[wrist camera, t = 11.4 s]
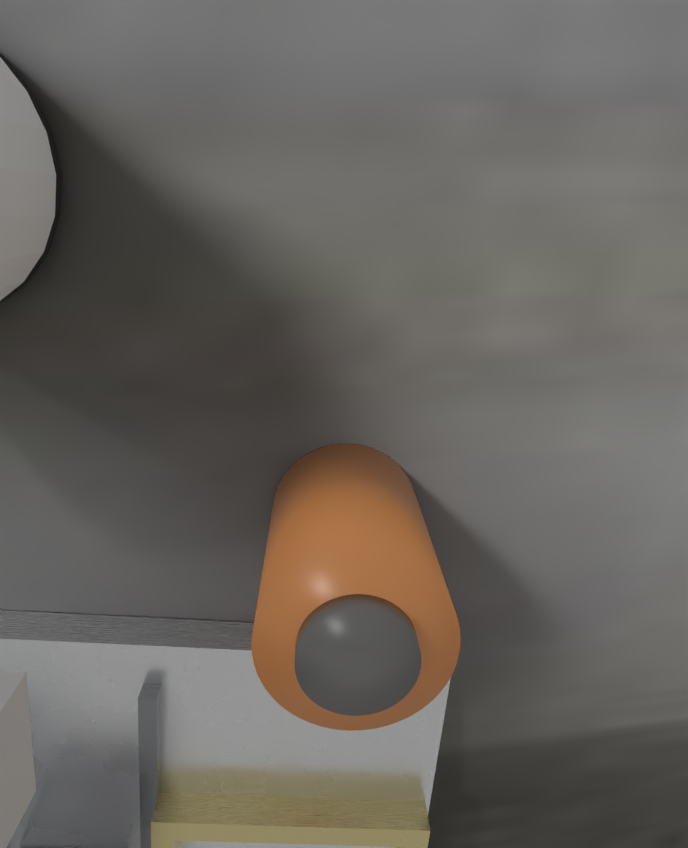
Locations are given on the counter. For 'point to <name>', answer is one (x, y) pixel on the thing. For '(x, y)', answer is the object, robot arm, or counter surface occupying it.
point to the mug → (24, 183)
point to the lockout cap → (352, 595)
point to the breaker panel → (199, 745)
